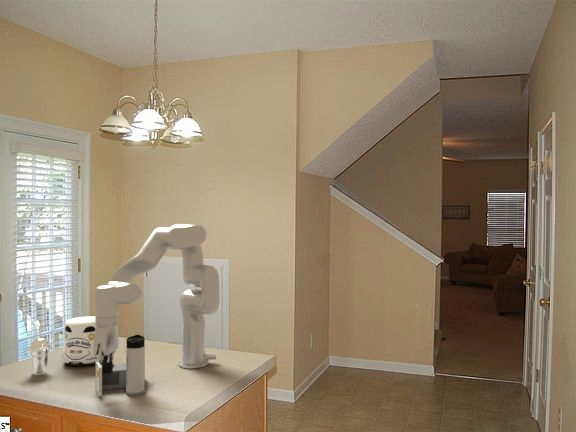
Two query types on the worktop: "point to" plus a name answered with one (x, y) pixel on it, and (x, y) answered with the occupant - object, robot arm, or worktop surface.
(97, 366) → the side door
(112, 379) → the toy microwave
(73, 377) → the worktop surface
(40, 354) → the cup with straw
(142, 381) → the travel mug
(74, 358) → the milk container
